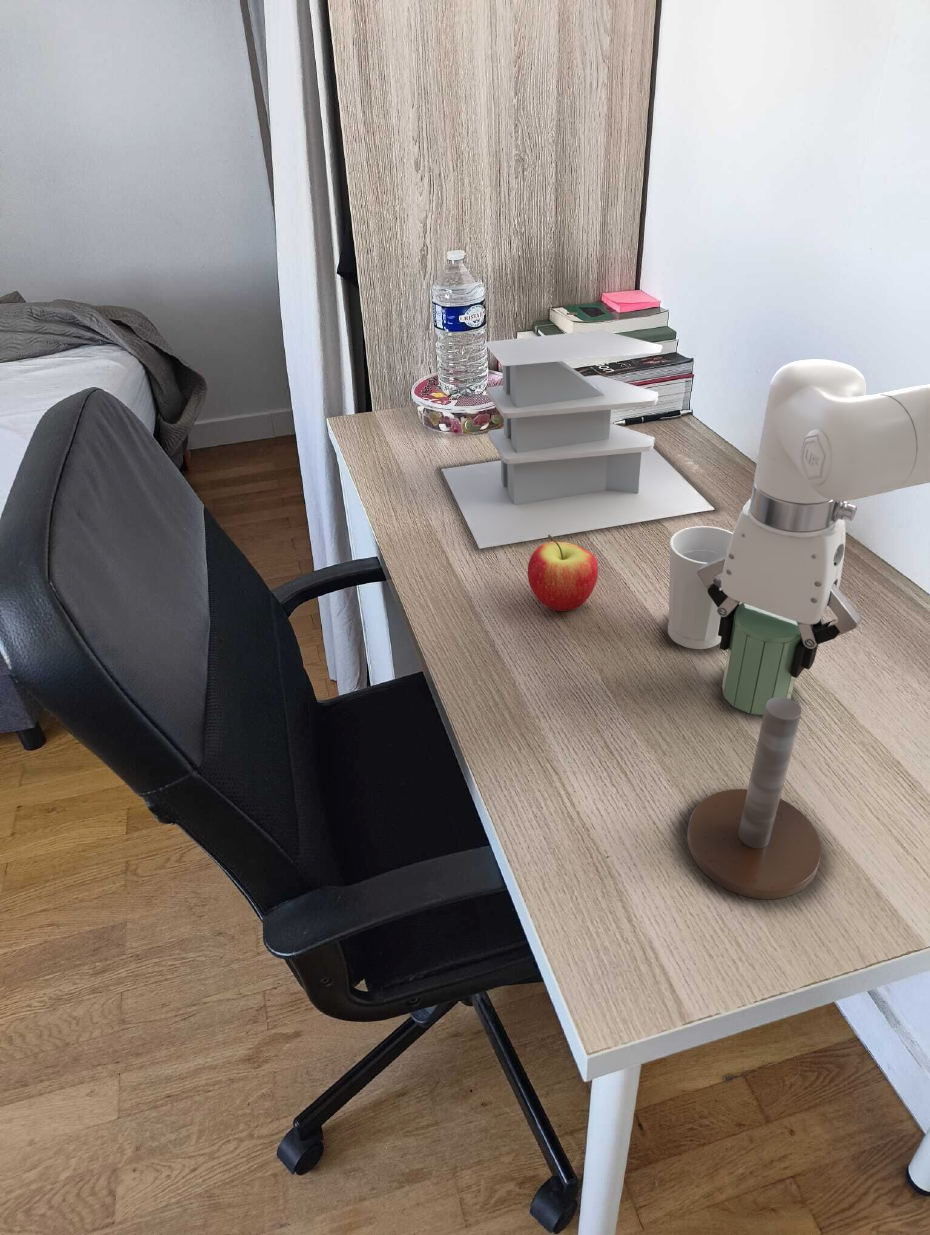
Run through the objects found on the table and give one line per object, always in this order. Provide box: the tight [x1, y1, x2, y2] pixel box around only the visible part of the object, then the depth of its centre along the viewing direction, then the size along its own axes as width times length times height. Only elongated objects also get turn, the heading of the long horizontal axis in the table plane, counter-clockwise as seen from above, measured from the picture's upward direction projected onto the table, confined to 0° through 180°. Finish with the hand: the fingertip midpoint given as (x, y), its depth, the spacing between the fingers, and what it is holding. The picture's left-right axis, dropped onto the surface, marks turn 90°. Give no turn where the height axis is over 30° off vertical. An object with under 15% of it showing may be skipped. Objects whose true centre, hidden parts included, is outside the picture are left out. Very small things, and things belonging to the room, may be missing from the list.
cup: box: [667, 525, 733, 650], centre depth 95 cm, size 8×8×12 cm
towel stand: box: [686, 697, 822, 900], centre depth 69 cm, size 11×11×16 cm
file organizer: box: [441, 329, 715, 550], centre depth 122 cm, size 26×35×22 cm
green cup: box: [721, 602, 802, 716], centre depth 86 cm, size 7×7×10 cm
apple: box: [527, 535, 599, 612], centre depth 101 cm, size 8×8×10 cm
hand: (763, 655), depth 86 cm, fingers closed on green cup, 6 cm apart
